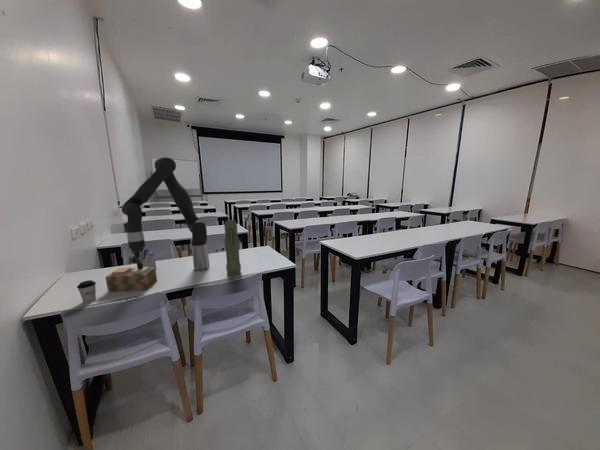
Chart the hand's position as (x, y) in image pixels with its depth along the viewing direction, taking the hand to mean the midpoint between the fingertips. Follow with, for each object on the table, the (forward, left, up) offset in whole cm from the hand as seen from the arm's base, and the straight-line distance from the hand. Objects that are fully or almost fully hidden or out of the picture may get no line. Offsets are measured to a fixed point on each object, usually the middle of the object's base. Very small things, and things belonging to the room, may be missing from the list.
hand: (140, 268), depth 128 cm
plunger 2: (0, 0, -10) cm, 10 cm away
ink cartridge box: (+10, -24, -11) cm, 28 cm away
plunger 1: (+10, 0, -10) cm, 14 cm away
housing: (+5, 0, -10) cm, 12 cm away
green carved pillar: (-49, -12, -11) cm, 52 cm away
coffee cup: (+18, +14, -11) cm, 25 cm away
